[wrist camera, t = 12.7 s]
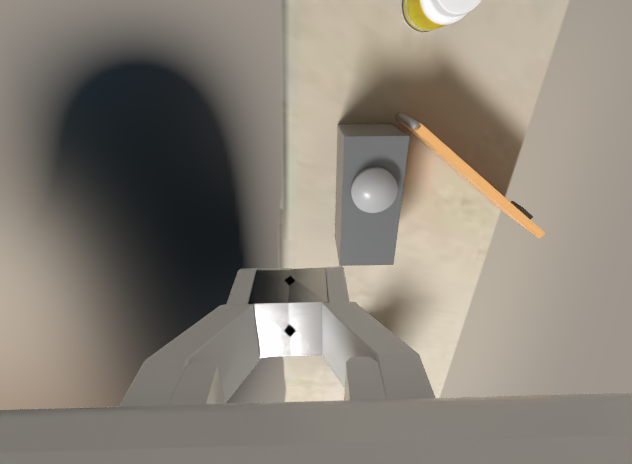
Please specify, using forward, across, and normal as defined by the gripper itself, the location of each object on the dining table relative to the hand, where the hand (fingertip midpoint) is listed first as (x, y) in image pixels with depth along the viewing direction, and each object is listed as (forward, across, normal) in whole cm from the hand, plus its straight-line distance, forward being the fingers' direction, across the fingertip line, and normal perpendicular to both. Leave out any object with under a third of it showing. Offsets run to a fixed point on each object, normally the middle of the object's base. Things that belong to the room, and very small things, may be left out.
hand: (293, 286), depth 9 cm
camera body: (+29, -7, +7) cm, 30 cm away
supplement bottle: (+29, -12, -11) cm, 33 cm away
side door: (+29, -18, +5) cm, 34 cm away
